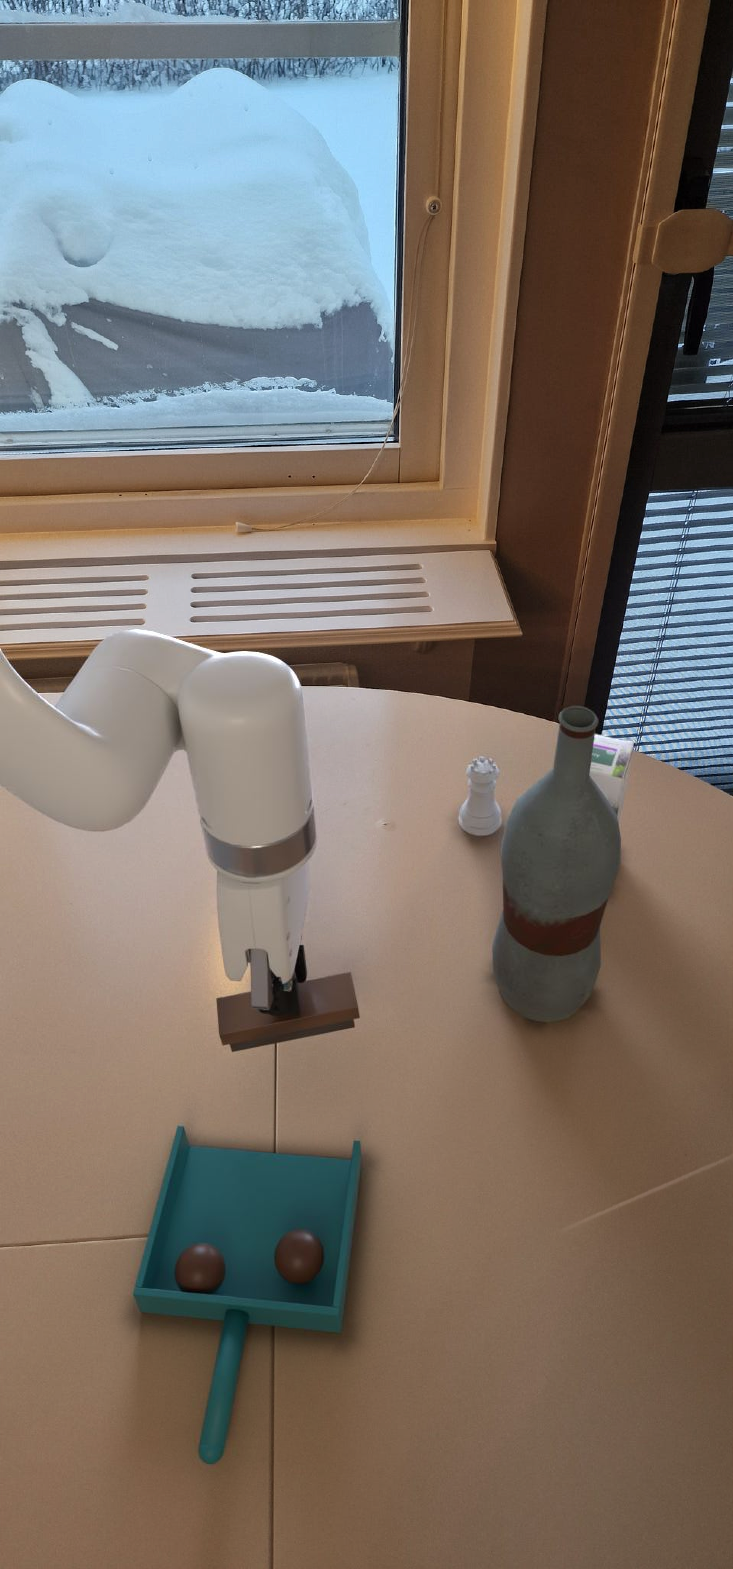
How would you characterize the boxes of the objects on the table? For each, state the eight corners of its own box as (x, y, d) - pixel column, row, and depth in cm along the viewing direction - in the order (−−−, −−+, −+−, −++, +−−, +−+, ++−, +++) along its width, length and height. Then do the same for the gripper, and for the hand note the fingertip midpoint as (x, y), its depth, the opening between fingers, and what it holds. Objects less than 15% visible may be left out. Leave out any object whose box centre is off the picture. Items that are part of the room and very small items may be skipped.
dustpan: (183, 1145, 81) (177, 1125, 79) (361, 1161, 79) (360, 1140, 77) (103, 1458, 65) (92, 1443, 63) (323, 1484, 64) (320, 1469, 62)
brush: (225, 1056, 82) (201, 978, 76) (222, 1020, 85) (198, 941, 78) (361, 1029, 83) (349, 949, 76) (354, 993, 86) (341, 913, 79)
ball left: (162, 1268, 73) (206, 1243, 75) (185, 1315, 71) (229, 1288, 73) (169, 1251, 70) (215, 1226, 72) (193, 1299, 69) (238, 1272, 71)
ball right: (311, 1286, 73) (275, 1297, 71) (292, 1238, 75) (257, 1247, 73) (341, 1265, 72) (306, 1275, 69) (321, 1216, 74) (286, 1224, 71)
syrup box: (544, 877, 101) (558, 764, 91) (559, 837, 105) (573, 725, 95) (602, 892, 99) (623, 779, 89) (615, 850, 103) (636, 738, 93)
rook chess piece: (461, 806, 109) (463, 747, 103) (503, 811, 108) (508, 752, 102) (455, 835, 105) (457, 776, 100) (499, 841, 105) (503, 782, 99)
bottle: (471, 961, 93) (488, 695, 73) (560, 930, 96) (600, 664, 76) (521, 1043, 87) (554, 775, 67) (615, 1007, 89) (674, 739, 69)
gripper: (229, 747, 75) (256, 914, 88) (174, 915, 63) (214, 1081, 76) (331, 751, 75) (343, 919, 87) (295, 922, 63) (316, 1089, 75)
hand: (283, 993), depth 81 cm, fingers closed on brush, 2 cm apart
